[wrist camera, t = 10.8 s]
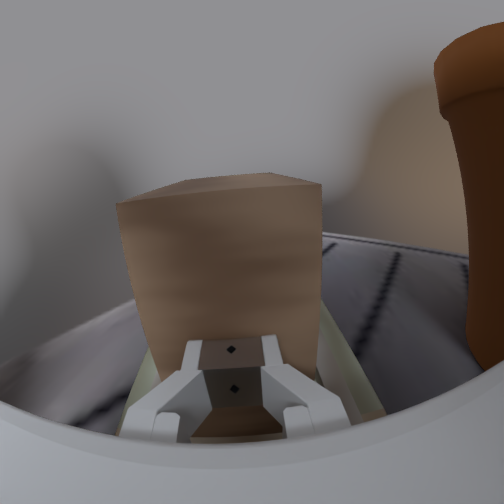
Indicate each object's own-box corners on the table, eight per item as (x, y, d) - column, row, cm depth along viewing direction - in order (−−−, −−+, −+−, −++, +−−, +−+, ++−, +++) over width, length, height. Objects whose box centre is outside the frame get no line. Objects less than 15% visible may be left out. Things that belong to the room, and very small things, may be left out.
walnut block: (276, 310, 22) (269, 172, 19) (308, 428, 11) (321, 184, 7) (204, 315, 22) (185, 180, 19) (184, 436, 11) (115, 203, 7)
